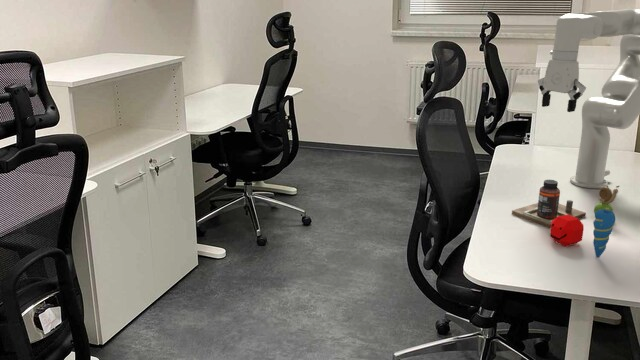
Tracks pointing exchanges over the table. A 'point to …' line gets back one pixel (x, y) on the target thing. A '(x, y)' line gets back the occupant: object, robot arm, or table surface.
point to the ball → (566, 230)
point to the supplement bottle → (548, 200)
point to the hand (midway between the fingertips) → (557, 108)
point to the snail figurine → (606, 198)
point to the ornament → (602, 229)
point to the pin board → (532, 216)
